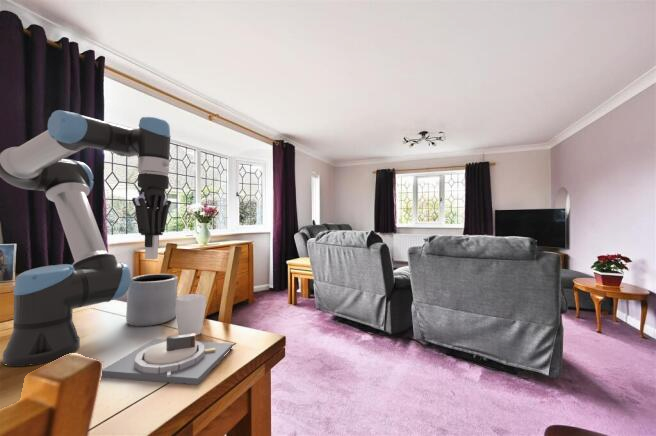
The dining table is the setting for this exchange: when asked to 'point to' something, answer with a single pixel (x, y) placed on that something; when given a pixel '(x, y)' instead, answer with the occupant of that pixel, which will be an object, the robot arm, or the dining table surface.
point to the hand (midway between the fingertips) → (151, 258)
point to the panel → (169, 365)
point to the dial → (172, 350)
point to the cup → (190, 313)
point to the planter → (151, 299)
